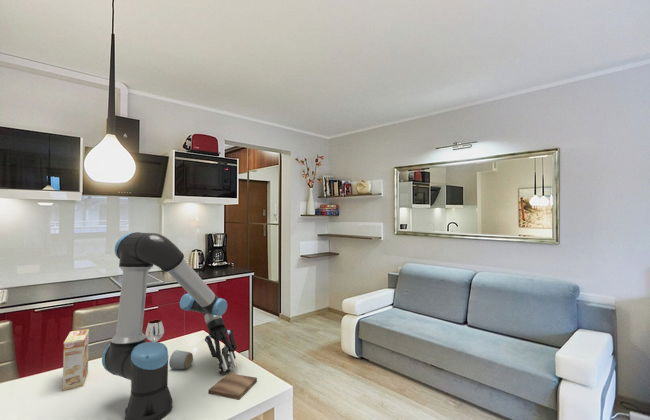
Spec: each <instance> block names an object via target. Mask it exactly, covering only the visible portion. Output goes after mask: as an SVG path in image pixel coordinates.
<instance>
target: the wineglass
mask: <svg viewBox="0 0 650 420" xmlns="http://www.w3.org/2000/svg"><path fill="white" fill-rule="evenodd" d="M164 334H165V328H164V325H163V322H162V320H161V319H154V320H153V319H152V320H150V321H148V323H147V327H146V330H145V333H144V335H145V336H146V339H147V340H148V341H149V342H158V341H159V340H160V339H161V338H163V335H164Z"/></svg>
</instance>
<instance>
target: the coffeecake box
mask: <svg viewBox="0 0 650 420" xmlns="http://www.w3.org/2000/svg"><path fill="white" fill-rule="evenodd" d="M89 333H90V329H89V328H84V329H78V330H73V331H69V333H68V335H67V337H65V340H64V341H63V355H62V356H63V358H62V359H63V365H62V367H63V368H62V392H63V391H67V390H72V389H73V390H74V389H77V388H82V387H85V386H84V385H85V382H86V379H87V377H88V372H89V342H90V341H89V340H90V339H89V336H90V335H89Z"/></svg>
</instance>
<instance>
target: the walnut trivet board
mask: <svg viewBox="0 0 650 420" xmlns="http://www.w3.org/2000/svg"><path fill="white" fill-rule="evenodd" d="M257 382H258V377H256V376H255V377H254V376H248V375H243V374H237V373H232V372H230V373H228V374H226V375H224V376H223V377H222V378H221V379H219V380H218V381H217V382H216V383H215V384H214V385H212V386H211V387H210V388H209V389H208V392H207V393H208V395H214V396H218V397H219V396H220V397H223V398H229V399H234V400H240V399H241V398H242V397H243V396H244V395H245V394H246V393H247V392H248V391H249V390H250V389H251V388H252V387H253V386H254V385H255V384H256V383H257Z"/></svg>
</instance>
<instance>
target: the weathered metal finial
mask: <svg viewBox="0 0 650 420" xmlns="http://www.w3.org/2000/svg"><path fill="white" fill-rule="evenodd" d="M221 355H223V356H224V359H225V362H226V365H227V368H228V369H227V370H226V371H225V372H224V370H223V367H222V364H219V363H218V364H217V366H218V368H219V371H218V374H219V375H220V376H221V375H222V376H223V375H224V376H226V375H227V374H228V373H232V370H231V369H230V368H231V367H232V364H231V361H230V359H229V351H228V348H227V347H226V346H225V345H224V347H222V348H221Z"/></svg>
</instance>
